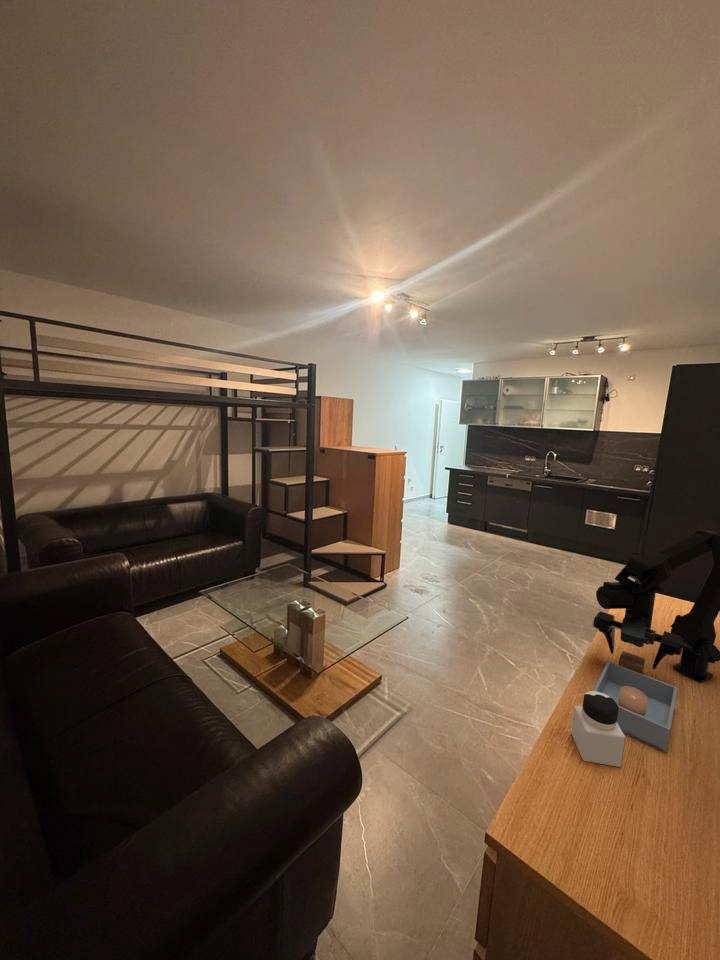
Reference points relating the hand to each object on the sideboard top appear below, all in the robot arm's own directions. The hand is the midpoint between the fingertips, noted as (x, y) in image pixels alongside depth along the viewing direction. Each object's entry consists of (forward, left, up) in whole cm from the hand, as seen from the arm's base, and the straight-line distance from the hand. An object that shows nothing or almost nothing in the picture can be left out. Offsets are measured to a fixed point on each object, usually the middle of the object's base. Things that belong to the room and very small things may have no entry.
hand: (632, 660), depth 101 cm
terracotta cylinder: (+17, +10, -4) cm, 20 cm away
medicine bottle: (+31, +12, -5) cm, 34 cm away
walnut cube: (0, 0, -4) cm, 5 cm away
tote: (+13, +8, -4) cm, 16 cm away
